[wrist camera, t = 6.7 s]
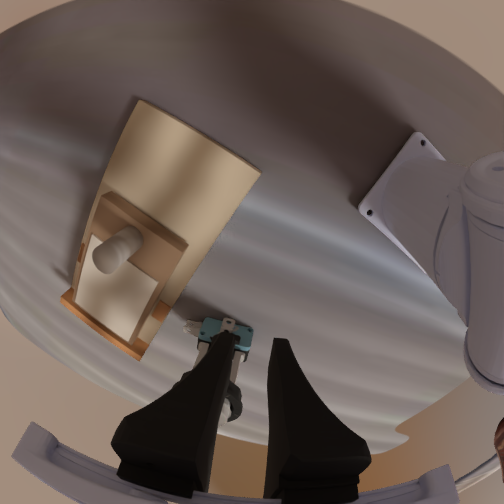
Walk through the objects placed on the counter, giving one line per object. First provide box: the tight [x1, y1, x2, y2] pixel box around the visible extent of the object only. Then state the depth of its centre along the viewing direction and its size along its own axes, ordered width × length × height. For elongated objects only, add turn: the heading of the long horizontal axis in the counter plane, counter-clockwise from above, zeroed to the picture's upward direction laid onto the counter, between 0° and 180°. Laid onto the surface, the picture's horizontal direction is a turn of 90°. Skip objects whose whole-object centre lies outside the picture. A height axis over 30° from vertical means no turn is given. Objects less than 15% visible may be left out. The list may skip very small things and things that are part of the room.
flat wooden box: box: [60, 100, 262, 361], centre depth 21 cm, size 11×22×3 cm, turn 146°
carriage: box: [72, 191, 189, 346], centre depth 20 cm, size 8×13×6 cm, turn 146°
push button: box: [172, 317, 253, 427], centre depth 21 cm, size 7×5×10 cm
